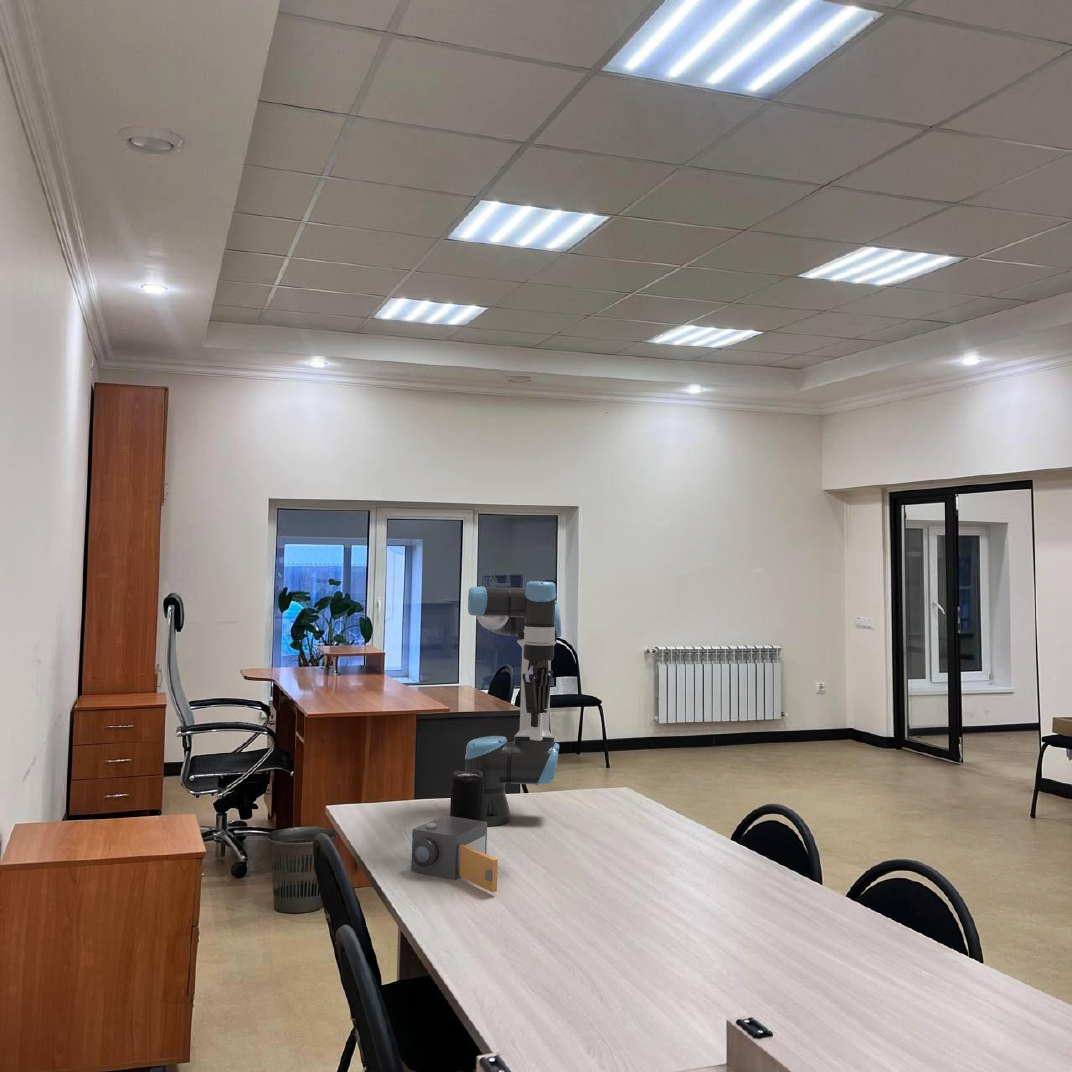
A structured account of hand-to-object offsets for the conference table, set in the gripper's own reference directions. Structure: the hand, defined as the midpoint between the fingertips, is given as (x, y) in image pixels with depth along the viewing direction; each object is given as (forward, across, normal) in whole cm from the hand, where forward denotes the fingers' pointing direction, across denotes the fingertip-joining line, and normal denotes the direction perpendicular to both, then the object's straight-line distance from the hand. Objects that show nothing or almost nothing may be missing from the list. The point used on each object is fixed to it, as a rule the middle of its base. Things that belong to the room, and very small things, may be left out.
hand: (536, 739), depth 239 cm
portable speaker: (+31, -2, -20) cm, 37 cm away
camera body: (+30, +14, -16) cm, 37 cm away
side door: (+29, +23, -3) cm, 37 cm away
